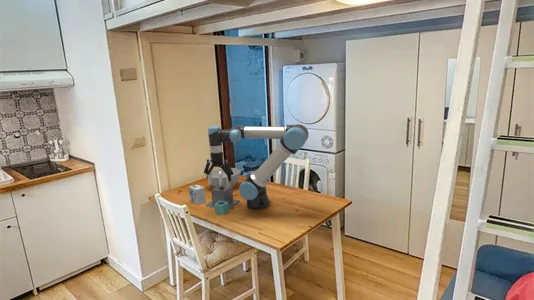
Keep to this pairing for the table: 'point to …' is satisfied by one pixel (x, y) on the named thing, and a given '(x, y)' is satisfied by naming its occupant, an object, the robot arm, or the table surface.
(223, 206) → the sleeve
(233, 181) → the decorative bowl
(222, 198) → the bearing block
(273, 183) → the table surface
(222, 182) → the steel shaft
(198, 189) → the light bulb box
